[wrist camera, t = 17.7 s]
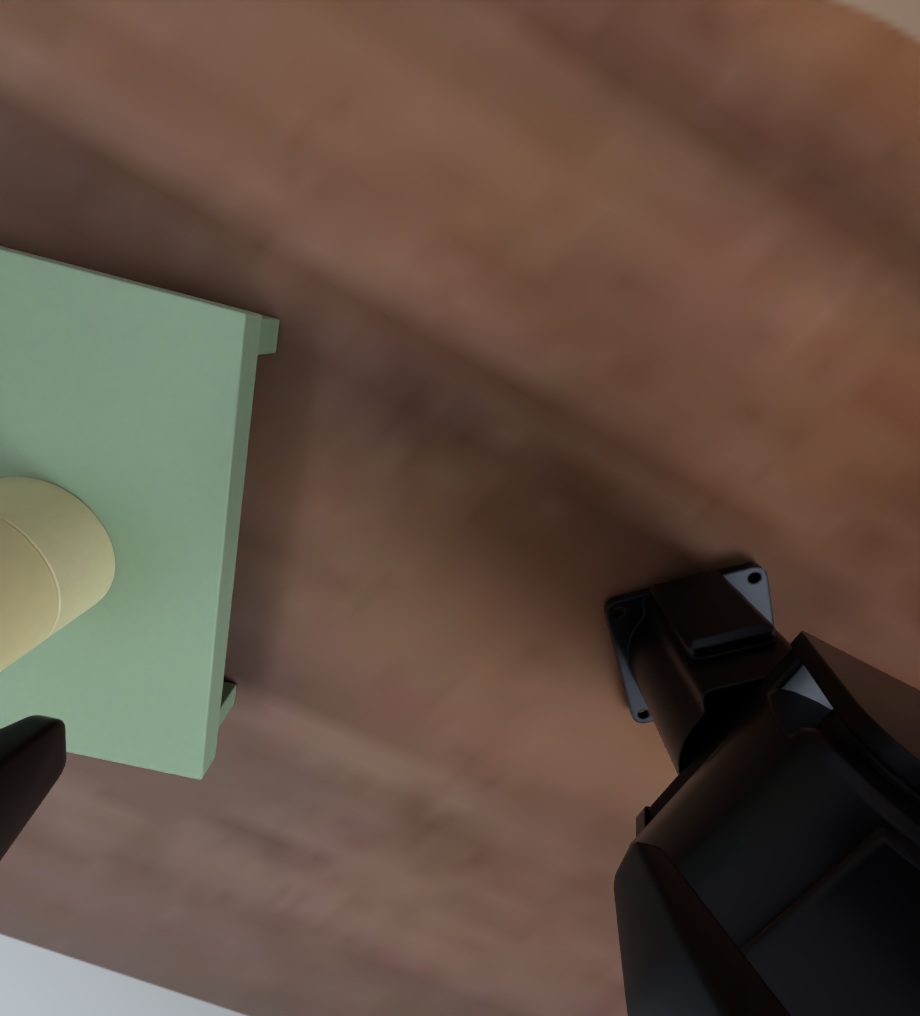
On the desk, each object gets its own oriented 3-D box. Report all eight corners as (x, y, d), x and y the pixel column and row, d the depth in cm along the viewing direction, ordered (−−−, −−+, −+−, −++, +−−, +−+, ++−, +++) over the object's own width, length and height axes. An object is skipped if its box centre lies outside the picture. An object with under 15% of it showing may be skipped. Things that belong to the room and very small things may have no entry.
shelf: (294, 317, 18) (127, 302, 9) (245, 709, 24) (115, 920, 15) (-74, 220, 17) (-626, 106, 8) (-29, 649, 23) (-327, 835, 14)
